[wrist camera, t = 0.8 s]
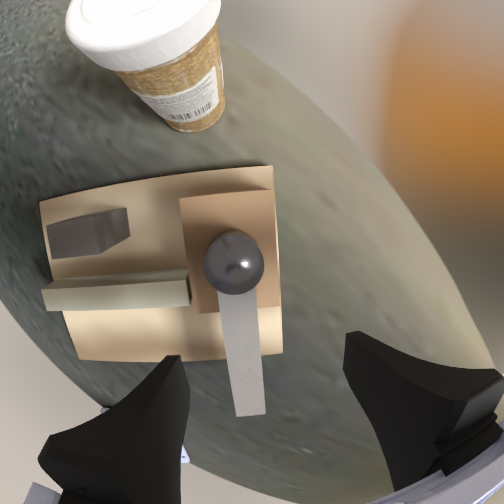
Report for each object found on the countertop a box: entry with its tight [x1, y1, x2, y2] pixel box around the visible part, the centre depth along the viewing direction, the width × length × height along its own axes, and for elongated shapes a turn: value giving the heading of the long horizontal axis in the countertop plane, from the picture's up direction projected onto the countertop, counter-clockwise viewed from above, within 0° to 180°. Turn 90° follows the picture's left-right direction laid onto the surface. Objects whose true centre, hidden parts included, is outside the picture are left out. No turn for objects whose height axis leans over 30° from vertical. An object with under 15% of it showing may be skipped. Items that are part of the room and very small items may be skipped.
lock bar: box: [203, 230, 266, 417], centre depth 16 cm, size 12×3×2 cm, turn 4°
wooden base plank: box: [39, 165, 283, 362], centre depth 17 cm, size 14×18×6 cm
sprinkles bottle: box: [65, 0, 225, 133], centre depth 10 cm, size 5×5×14 cm
